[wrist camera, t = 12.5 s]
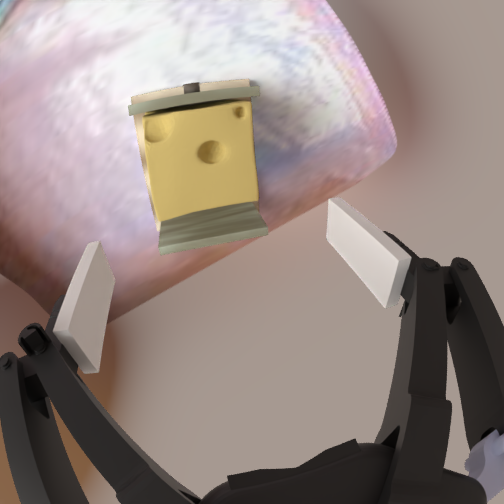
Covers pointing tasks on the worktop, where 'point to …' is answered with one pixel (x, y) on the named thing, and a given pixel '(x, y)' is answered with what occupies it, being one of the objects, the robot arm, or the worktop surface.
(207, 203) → the cheese
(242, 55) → the worktop surface
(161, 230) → the holder
